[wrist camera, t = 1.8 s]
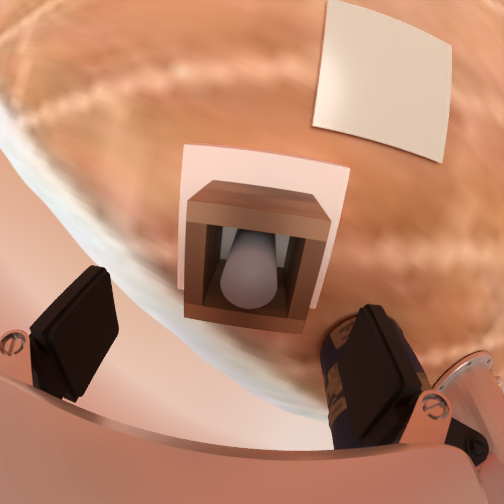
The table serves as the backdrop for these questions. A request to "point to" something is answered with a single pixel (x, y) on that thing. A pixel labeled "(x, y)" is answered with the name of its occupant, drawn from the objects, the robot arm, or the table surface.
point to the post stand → (249, 241)
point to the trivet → (383, 81)
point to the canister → (333, 384)
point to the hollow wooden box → (258, 219)
